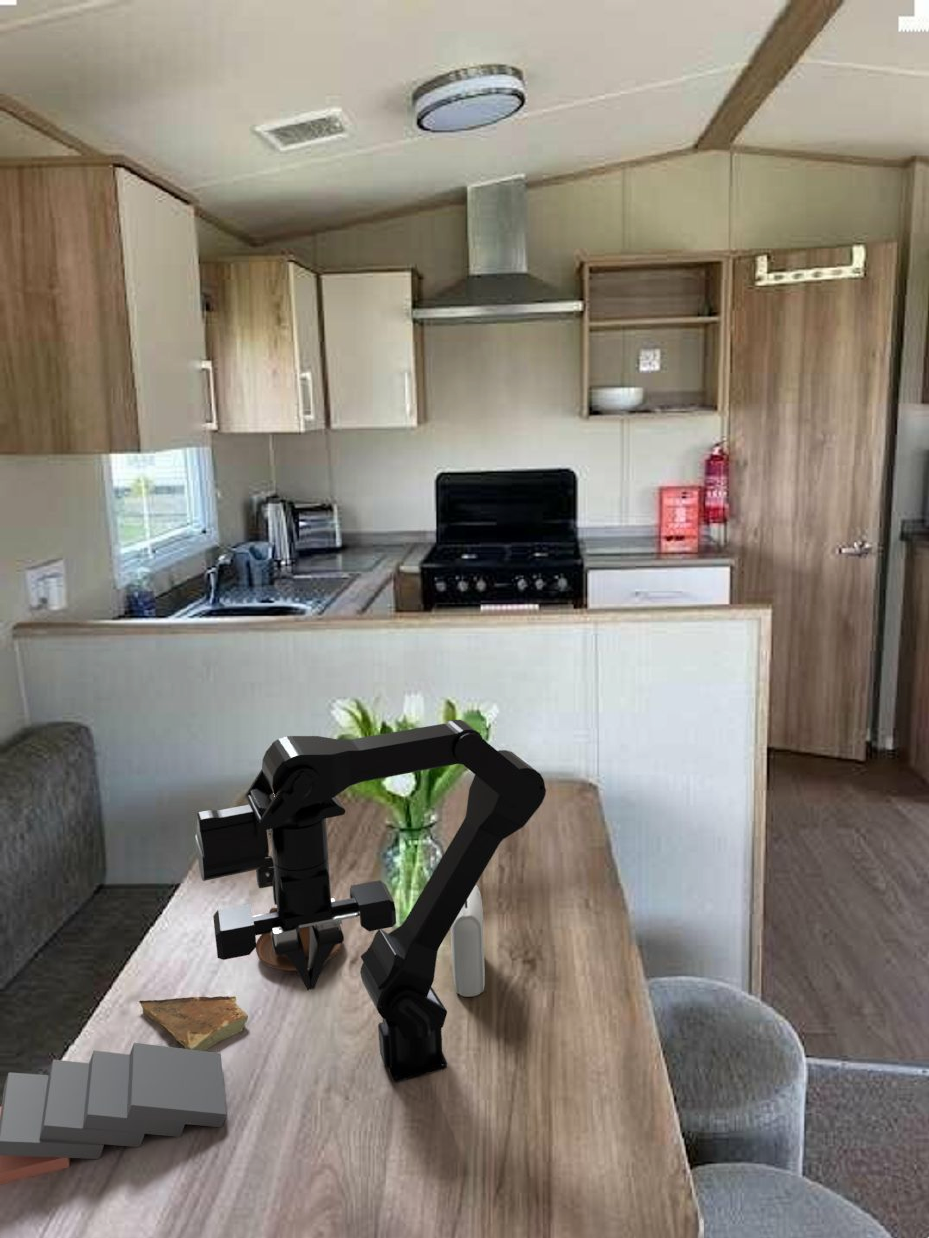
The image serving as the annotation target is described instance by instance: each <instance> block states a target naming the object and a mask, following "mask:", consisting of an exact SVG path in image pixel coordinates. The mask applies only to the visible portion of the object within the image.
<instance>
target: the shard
mask: <svg viewBox="0 0 929 1238" xmlns="http://www.w3.org/2000/svg"><path fill="white" fill-rule="evenodd" d="M236 1000H237V997H236V996H228V995H227V996H221V995H220V996H213V997H211V996H210V997H209V996H198V997H197V996H190V997H179V998H178V997H175V998H167V999H166V998H165V999H153V1000H152V999H151V1000H150V999H149V1000H147V999H146V1000H139V1001H138V1002H139V1004H140V1007H142V1013H144V1014H146V1015H147V1016H148V1017H149V1018H150V1019H152V1020H153V1021H156V1022H157V1023H158V1024H159V1025H160V1026H162V1027H163V1028H165V1030H167V1032H169V1034H171V1035H172V1036H173V1037H174V1039H175V1040H176V1041H178V1043H180V1045H183V1047H184V1049H190V1050H199V1051H207V1050H208V1049H210V1048H211V1047H213V1046H214V1045H216V1044H217V1043H219V1042H220V1041H222V1040H225V1039H227V1038H230V1037H232V1036H233V1035H235V1034H238V1033H240V1032H242V1031H243V1028H244V1027H245V1025H246V1023H247V1022H248V1019H249V1016H248V1014H247V1013H246V1011H244V1010H243V1009H242V1008H241V1007H239V1005H238V1004H237V1002H236Z"/></svg>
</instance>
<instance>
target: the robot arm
mask: <svg viewBox="0 0 929 1238" xmlns="http://www.w3.org/2000/svg"><path fill="white" fill-rule="evenodd" d="M261 764H262V765H261V769H260V771H259V773H258V774H257V776H256V777H255V779H254V781H252V784H251V785H250V787H249V788H248V790H247V792H245V794H244V798H245V800H246V802H247V804H245V805H240V806H235V807H234V806H233V807H228V808H224V809H219V810H218V809H217V810H215V809H214V810H213V809H210V810H209V809H208V810H204V811H198V812H197V814H196V822H197V823H196V834H195V835H194V840H195V849H196V856H197V862H198V868H199V873H200V877H201V880H202V882H206V881H209V880H215V879H218V878H224V877H229V876H234V875H238V874H243V873H248V872H251V871H255V873H256V875H255V876H256V884H257V887H258V889H264V888H270V887H272V894H273V895H272V897H273V902H274V905H275V906H276V908H277V912H273V913H269V912H268V913H262V914H257V915H253V912H252V906H251V903H247V904H241V905H235V906H231V907H224V908H219V909H217V910H216V912H215V913H214V914H213V925H214V926H213V927H214V935H215V936H214V937H215V946H216V955H217V959H220V960H223V961H225V960H226V961H227V960H230V959H235V958H236V959H237V958H240V957H246V956H250V955H251V953H252V952H254V950H256V943H257V939H256V936H261V935H262V934H266V933H270V934H271V938H272V943H273V948H274V953H275V954H276V955H286V957H287V958H288V959H289V960H290V962H291V963H292V964H293V965H294V967H295V968H296V970H297V971H296V972H297V973H298V976H299V977H300V979H301V981H302V983H303V985H304V987H305V989H306V991H310V990H315V989H316V985H317V984H318V982H319V978H320V976H321V974H322V971H323V969H324V966H325V965H326V962H327V961H328V960H327V958H328V957H329V955H330V953H331V952H332V950H333V948H334V946H335V945H336V944H340V943H342V944H343V942H344V941H345V936H344V933H343V930H342V928H341V927H342V926H341V925H343V920H348V919H353V918H355V919H356V918H358V917H359V924H360V926H361V927H362V928H364V929H365V930H366V931H367V932H373V931H376V932H375V934H374V937H373V938H372V941H371V944H370V946H369V947H368V948H367V950H365V951H364V953H363V954H361V955H360V958H361V961H362V965H361V967H360V970H359V971H360V972H359V973H360V978H361V981H362V984H363V986H364V988H365V989H366V992H367V993H368V995H369V997H370V999H371V1001H372V1003H373V1004H374V1006H375V1009H376V1011H377V1013H378V1014H379V1016H381V1018H382V1019H381V1020H382V1022H379V1023H378V1025H377V1030H378V1043H379V1054H380V1057H381V1060H382V1063H383V1065H384V1067H385V1068H387V1069H388V1071H389V1074H390V1078H391V1080H392V1081H393V1082H401V1081H403V1080H408V1079H411V1078H415V1077H419V1076H423V1075H427V1074H431V1073H435V1072H438V1071H442V1070H445V1069H447V1068H448V1062H447V1059H446V1057H445V1055H444V1053H443V1039H442V1038H443V1037H442V1036H443V1035H442V1028H443V1027H444V1025H445V1021H446V1018H447V1015H448V1011H447V1009H446V1007H445V1006H444V1004H443V1002H442V1001H441V1000H440V998H439V997H438V995H437V993H436V992H435V990H434V988H433V987H432V985H433V983H434V980H435V974H436V965H437V957H438V952H439V948H440V946H441V945H442V943H443V941H444V940H445V939H446V936H447V935H448V933H449V932H450V931H451V926H452V925H453V923H454V921H455V919H456V918H457V916H458V914H459V913H460V911H461V909H462V908H463V906H464V904H465V902H466V901H467V899H468V897H469V896H470V894H471V892H472V890H473V889H474V887H475V885H477V884H478V882H479V880H480V878H481V877H482V875H483V874H484V872H485V870H486V868H487V867H488V865H489V863H490V861H491V860H492V858H493V857H494V854H495V853H496V852H497V849H498V848H499V846H500V845H501V843H502V841H504V840H505V839H507V838H508V837H509V836H511V835H512V834H515V833H516V832H517V831H519V830H521V829H522V828H524V827H525V826H526V825H527V823H528V822H529V821H530V820H531V819H532V818H533V816H534V815H535V813H536V812H537V811H538V810H539V808H540V806H542V805H543V803H544V800H545V798H546V794H547V788H546V785H545V780H544V778H543V776H542V774H541V773H540V772H539V771H537V770H536V769H534V768H533V767H532V766H531V765H529V764H528V763H527V762H525V761H524V760H523V759H522V758H521V757H519V756H518V755H517V754H516V753H514V752H513V751H511V750H506V749H501V750H497V749H496V748H495V747H493V746H492V745H491V744H490V743H489V742H488V741H486V740H485V739H484V738H483V736H482V734H481V733H479V731H478V730H477V729H475V728H474V727H473V726H471V725H470V724H469V723H468V722H466V721H464V720H462V719H451V720H448V721H446V722H445V723H440V724H435V725H434V724H433V725H428V726H427V725H426V726H422V727H415V728H410V729H405V730H399V731H398V730H397V731H392V732H387V733H381V734H376V735H369V736H363V737H358V738H352V739H336V738H333V737H332V738H331V737H324V736H319V735H289V736H288V735H287V736H283V737H279V738H277V739H275V740H274V741H273V742H271V745H270V746H269V747H268V748H267V750H266V751H265V753H264V756H263V757H262V763H261ZM453 765H463V766H464V767H465V768H466V769H468V770H469V771H470V772H471V773H472V774H474V776H473V779H472V781H471V784H470V786H469V789H468V790H469V791H468V798H467V803H466V804H467V806H466V813H465V817H464V820H463V822H462V823H461V824H460V826H459V828H458V830H457V831H456V833H455V835H454V837H453V838H452V840H451V842H450V844H449V845H448V847H447V848H446V851H445V852H444V854H443V855H442V856H441V858H440V860H439V862H438V864H437V866H436V867H435V869H434V870H433V872H432V874H431V875H430V878H428V881H427V882H426V884H425V886H424V888H423V890H422V891H421V892H420V894H419V896H418V898H417V900H416V901H415V903H414V904H413V906H412V907H411V910H410V912H409V913H408V914H407V916H406V918H405V920H404V922H402V924H401V925H400V926H398V927H397V928H395V929H394V930H392V931H390V932H389V933H388V932H387V931H385V930H383V929H389V928H393V927H394V926H395V925H396V924H397V918H396V917H397V911H396V905H395V901H394V899H393V897H392V895H391V893H390V891H389V888H388V887H387V886H388V885H387V884H386V883H384V882H383V881H382V880H380V879H379V880H375V881H369V882H363V883H356V884H352V885H350V886H349V898H347V899H340V900H336V899H335V897H334V898H332V895H331V893H332V891H331V881H330V880H331V878H330V876H331V875H330V863H329V847H328V846H329V844H328V835H327V834H328V831H327V830H328V829H327V819H330V818H335V817H340V816H344V815H345V813H346V809H345V807H344V806H343V804H342V803H341V802H340V800H339V798H338V797H337V796H339V795H340V794H341V793H343V792H344V791H345V790H347V789H348V788H350V787H352V786H354V785H357V784H360V783H364V782H370V781H374V780H381V779H385V778H390V777H394V776H395V777H396V776H400V775H406V774H411V773H417V772H422V771H428V770H432V769H437V768H438V769H439V768H443V767H448V766H453ZM272 793H274V794H275V797H274V798H273V800H272V799H271V797H270V795H271V794H272ZM268 829H271V833H270V835H271V847H272V848H271V850H272V855H270V846H269V838H268V831H269V830H268ZM307 926H309V928H310V945H309V967H307V962H306V958H305V953H304V949H303V945H302V941H301V937H300V934H299V928H302V927H307ZM326 960H327V961H326Z"/></svg>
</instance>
